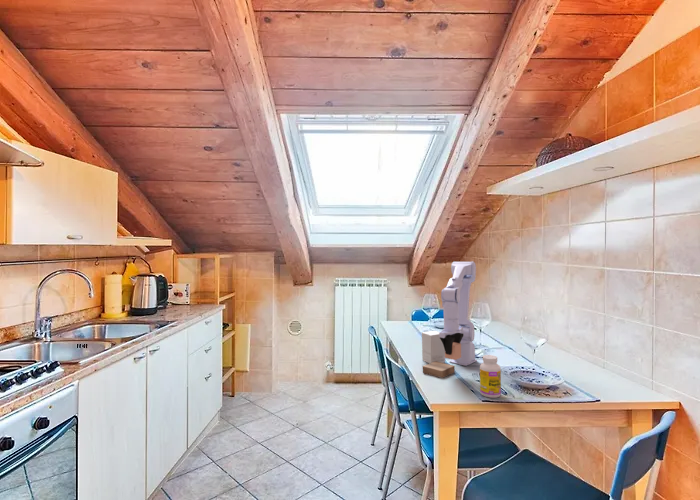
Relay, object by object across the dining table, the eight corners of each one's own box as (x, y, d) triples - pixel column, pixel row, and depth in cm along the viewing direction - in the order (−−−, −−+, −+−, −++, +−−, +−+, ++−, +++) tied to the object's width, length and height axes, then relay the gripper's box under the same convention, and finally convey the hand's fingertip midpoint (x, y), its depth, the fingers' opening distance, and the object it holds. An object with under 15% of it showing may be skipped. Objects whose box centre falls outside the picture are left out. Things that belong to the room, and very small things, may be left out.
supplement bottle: (488, 399, 127) (487, 360, 127) (476, 392, 133) (475, 355, 133) (505, 397, 129) (504, 358, 129) (493, 390, 135) (492, 353, 135)
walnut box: (435, 368, 162) (435, 361, 162) (454, 373, 155) (454, 365, 155) (422, 373, 156) (422, 366, 156) (442, 378, 149) (441, 371, 149)
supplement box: (445, 362, 168) (445, 333, 168) (431, 364, 165) (430, 335, 165) (435, 358, 175) (435, 330, 175) (421, 360, 172) (421, 332, 172)
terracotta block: (450, 355, 156) (450, 341, 156) (461, 357, 152) (460, 343, 152) (444, 357, 152) (444, 343, 152) (455, 359, 149) (455, 345, 149)
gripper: (450, 322, 145) (451, 358, 145) (469, 316, 155) (470, 350, 155) (434, 320, 150) (435, 355, 150) (454, 315, 160) (454, 347, 160)
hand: (452, 352), depth 153 cm, fingers closed on terracotta block, 4 cm apart
